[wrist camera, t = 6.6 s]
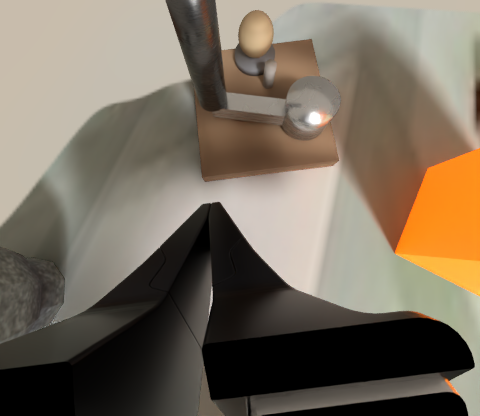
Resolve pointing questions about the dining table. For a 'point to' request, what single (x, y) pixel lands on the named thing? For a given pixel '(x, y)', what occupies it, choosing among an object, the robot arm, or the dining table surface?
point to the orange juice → (447, 222)
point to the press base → (266, 85)
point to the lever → (240, 105)
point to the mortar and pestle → (27, 294)
